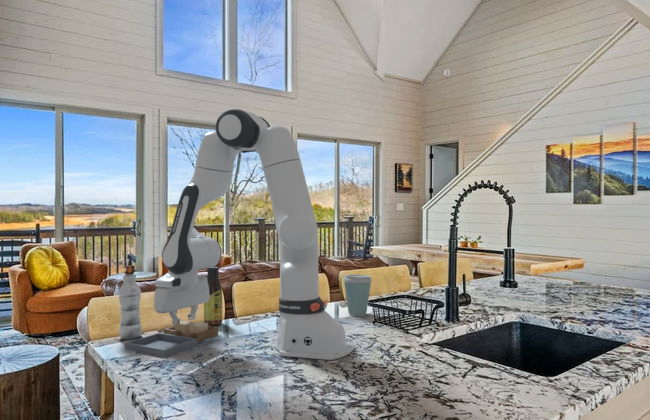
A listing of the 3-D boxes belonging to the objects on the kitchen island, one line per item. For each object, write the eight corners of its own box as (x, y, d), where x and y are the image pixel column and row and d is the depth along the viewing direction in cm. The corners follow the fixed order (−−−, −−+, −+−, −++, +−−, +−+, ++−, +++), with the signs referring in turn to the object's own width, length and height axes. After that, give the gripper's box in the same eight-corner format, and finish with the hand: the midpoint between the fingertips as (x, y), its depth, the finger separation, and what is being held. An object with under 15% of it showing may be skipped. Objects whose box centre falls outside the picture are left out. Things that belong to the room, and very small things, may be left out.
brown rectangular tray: (218, 336, 143) (218, 327, 143) (197, 344, 135) (197, 334, 135) (185, 331, 150) (185, 322, 150) (164, 338, 142) (163, 329, 142)
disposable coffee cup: (356, 310, 178) (355, 271, 178) (378, 314, 171) (377, 274, 171) (337, 315, 171) (337, 274, 171) (360, 319, 163) (359, 277, 163)
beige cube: (183, 333, 147) (183, 320, 147) (193, 334, 145) (193, 321, 145) (174, 336, 143) (174, 323, 143) (185, 337, 142) (185, 324, 142)
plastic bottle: (146, 337, 144) (145, 274, 144) (129, 343, 138) (128, 277, 138) (131, 335, 147) (130, 273, 147) (114, 341, 140) (113, 276, 140)
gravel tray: (197, 347, 133) (197, 338, 133) (165, 359, 122) (164, 350, 122) (158, 340, 140) (158, 332, 140) (125, 351, 130) (124, 342, 130)
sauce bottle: (217, 326, 156) (216, 268, 156) (200, 326, 158) (199, 268, 158) (225, 322, 163) (224, 266, 163) (209, 321, 164) (208, 266, 164)
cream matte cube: (198, 334, 144) (197, 322, 144) (207, 336, 142) (207, 323, 142) (188, 337, 140) (188, 324, 140) (198, 339, 139) (198, 326, 139)
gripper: (199, 273, 155) (200, 314, 155) (150, 281, 137) (151, 328, 137) (213, 274, 152) (214, 315, 152) (165, 283, 134) (166, 330, 134)
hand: (184, 321), depth 144 cm, fingers open, 5 cm apart
